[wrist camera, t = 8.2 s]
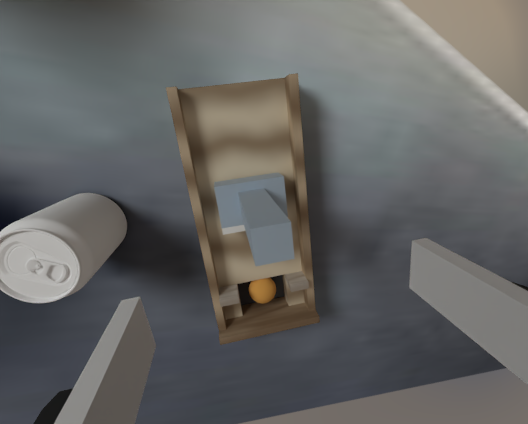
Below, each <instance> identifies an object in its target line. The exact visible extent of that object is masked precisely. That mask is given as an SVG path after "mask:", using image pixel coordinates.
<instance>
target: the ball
mask: <svg viewBox="0 0 528 424" xmlns="http://www.w3.org/2000/svg"><path fill="white" fill-rule="evenodd" d="M249 294H250V296H251V298H252V299H253V300H254V301H255V302H257V303H261V304H264V303H268V302H269V301H271V300H272V299H273V298H274V296H275V294H276V285H275V283H274V281H273V280H272V279H271V278H270V277H269V278H264V279H259V280H254V281H251V283H250V285H249Z"/></svg>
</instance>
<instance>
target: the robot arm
mask: <svg viewBox="0 0 528 424" xmlns="http://www.w3.org/2000/svg"><path fill="white" fill-rule="evenodd" d="M409 288H410V289H412V290H413V291H414V292H415V293H416V294H418V295H419V296H420V297H421V298H423V299H424V300H425V301H426V302H427V303H429V304H430V305H431V306H432V307H434V308H435V309H436V310H437V311H438V312H440V313H441V314H442V315H443V316H444V317H446V318H447V319H448V320H449V321H451V322H452V323H453V324H454V325H455V326H457V327H458V328H459V329H460V330H461V331H463V332H464V333H465V334H466V335H468V336H469V337H470V338H471V339H472V340H474V341H475V342H476V343H477V344H479V345H480V346H481V347H482V348H483V349H485V350H486V351H487V352H488V353H489V354H491V355H492V356H493V357H494V358H496V359H497V360H498V361H499V362H500V363H502V364H503V365H504V366H505V367H506V368H508V369H509V370H510V371H511V372H513V373H514V374H515V375H516V376H517V377H519V378H520V379H521V380H522V381H524V382H525V383H526V384H527V385H528V287H525V286H522V285H519V284H516V283H513V282H512V283H511V282H510V281H508V280H506V279H504V278H502V277H500V276H498V275H496V274H494V273H492V272H490V271H488V270H487V269H485V268H483V267H481V266H479V265H477V264H475V263H473V262H471V261H469V260H467V259H465V258H463V257H462V256H460V255H458V254H456V253H454V252H452V251H450V250H448V249H446V248H444V247H442V246H440V245H439V244H437V243H435V242H433V241H431V240H429V239H427V238H423V239H418V240H413V241H412V250H411V267H410V285H409ZM155 348H156V344H155V341H154V338H153V335H152V332H151V329H150V326H149V323H148V320H147V317H146V314H145V311H144V308H143V305H142V302H141V299H140V297H136V298H131V299H126V300H122V301H121V303H120V304H119V306H118V308H117V310H116V312H115V313H114V315H113V317H112V319H111V321H110V323H109V324H108V326H107V328H106V330H105V332H104V333H103V335H102V337H101V339H100V341H99V343H98V344H97V346H96V348H95V350H94V352H93V353H92V355H91V357H90V359H89V361H88V363H87V364H86V366H85V368H84V370H83V372H82V373H81V375H80V377H79V379H78V381H77V383H76V384H75V386H74V388H73V389H69V390H64V391H60V392H59V393H58V394H57V395H56V396H55V397H54V398H53V399H52V400H51V401H50V402H49V403H48V404H47V405H46V406H45V407H44V408H43V409H42V411H41V412H40V414H39V416H38V417H37V419H36V421H35V422H34V424H135V420H136V416H137V413H138V409H139V405H140V402H141V398H142V395H143V391H144V387H145V384H146V380H147V377H148V373H149V369H150V366H151V362H152V358H153V355H154V351H155Z"/></svg>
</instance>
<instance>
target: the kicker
mask: <svg viewBox="0 0 528 424" xmlns="http://www.w3.org/2000/svg"><path fill="white" fill-rule="evenodd" d="M214 189H215V195H216V200H217V205H218V211H219V216H220V222H221V227H222V232H223V235H225V234H230V233H236V232H241V231H246V234H247V238H248V241H249V245H250V248H251V252H252V255H253V259H254V262H255V266H261V265H266V264H271V263H276V262H281V261H286V260H291V259H295V258H294V247H293V237H292V227H291V221H290V220H289V219H288V213H287V203H286V193H285V183H284V176H283V175H281V174H280V173H278V172H277V173H270V174H264V175H257V176H251V177H244V178H238V179H231V180H225V181H218V182H214Z"/></svg>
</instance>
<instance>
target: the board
mask: <svg viewBox="0 0 528 424" xmlns="http://www.w3.org/2000/svg"><path fill="white" fill-rule="evenodd" d="M166 90H167V95H168V99H169V104H170V108H171V113H172V118H173V122H174V127H175V131H176V136H177V140H178V145H179V150H180V154H181V159H182V163H183V168H184V172H185V177H186V182H187V186H188V191H189V195H190V200H191V205H192V209H193V214H194V218H195V223H196V227H197V232H198V237H199V241H200V246H201V250H202V255H203V259H204V264H205V269H206V273H207V278H208V282H209V287H210V292H211V296H212V301H213V305H214V310H215V314H216V319H217V324H218V328H219V340H220V345H222V344H227V343H231V342H235V341H240V340H244V339H248V338H253V337H257V336H262V335H266V334H270V333H275V332H279V331H283V330H288V329H292V328H297V327H301V326H305V325H310V324H314V323H318V322H320V320H319V315H318V313H317V311H316V310H315V297H314V283H313V270H312V257H311V243H310V230H309V216H308V203H307V190H306V176H305V163H304V150H303V136H302V123H301V110H300V96H299V83H298V74H289V75H288V76H286V77H285V78H279V79H270V80H261V81H252V82H243V83H233V84H224V85H215V86H206V87H197V88H188V89H178V88H177V87H168V88H166ZM277 172H278V173H280V174H281V175H283V176H284V183H285V193H286V203H287V213H288V219H289V220H290V221H291V227H292V237H293V247H294V258H295V259H291V260H286V261H281V262H276V263H271V264H266V265H261V266H255V262H254V259H253V255H252V252H251V248H250V245H249V241H248V238H247V234H246V231H241V232H236V233H230V234H225V235H223V232H222V227H221V222H220V216H219V211H218V205H217V200H216V195H215V189H214V182H218V181H225V180H231V179H238V178H244V177H251V176H257V175H264V174H270V173H277ZM279 275H282V278H283V286H284V295H285V296H283V297H279V298H274V299H272V300H271V301H269V302H268V303H264V304H261V303H257V302H255V303H251V304H246V305H241V301H240V295H239V290H238V284H240V283H245V282H249V281H254V280H259V279H264V278H269V277H274V276H279Z"/></svg>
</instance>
